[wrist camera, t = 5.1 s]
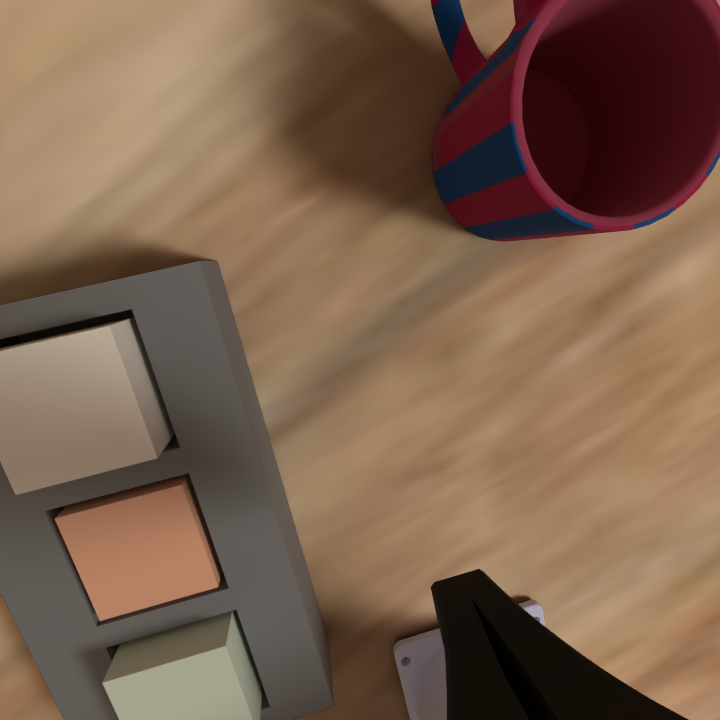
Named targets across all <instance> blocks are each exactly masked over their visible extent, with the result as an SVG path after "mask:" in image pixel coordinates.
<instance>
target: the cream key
mask: <svg viewBox="0 0 720 720" xmlns="http://www.w3.org/2000/svg"><path fill="white" fill-rule="evenodd" d="M174 434H175V432H174V429H173V426H172V423H171V420H170V418H169V415H168V412H167V409H166V406H165V403H164V400H163V397H162V395H161V392H160V389H159V386H158V383H157V380H156V377H155V374H154V372H153V369H152V366H151V363H150V360H149V357H148V354H147V351H146V349H145V346H144V343H143V340H142V337H141V334H140V331H139V329H138V326H137V323H136V320H135V317H132V318H128V319H124V320H119V321H115V322H111V323H106V324H102V325H98V326H93V327H89V328H85V329H80V330H76V331H72V332H67V333H63V334H59V335H54V336H50V337H46V338H41V339H37V340H33V341H28V342H24V343H20V344H15V345H11V346H7V347H2V348H0V462H1V464H2V467H3V469H4V471H5V473H6V475H7V477H8V480H9V482H10V484H11V486H12V488H13V490H14V493H15V495H18V494H22V493H26V492H30V491H33V490H37V489H41V488H45V487H49V486H53V485H57V484H61V483H64V482H68V481H72V480H76V479H80V478H84V477H88V476H91V475H95V474H99V473H103V472H107V471H111V470H115V469H118V468H122V467H126V466H130V465H134V464H138V463H142V462H145V461H149V460H153V459H157V458H158V457H159V456H160V454H161V453H162V451H163V450H164V448H165V447H166V446H167V444H168V443H169V441H170V440H171V438H172V437H173V436H174Z"/></svg>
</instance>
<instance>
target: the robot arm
mask: <svg viewBox="0 0 720 720" xmlns="http://www.w3.org/2000/svg"><path fill="white" fill-rule="evenodd" d="M431 591H432V596H433V600H434V605H435V609H436V614H437V619H438V623H439V628H438V629H435V630H432V631H428V632H425V633H422V634H419V635H415V636H412V637H409V638H406V639H403V640H400V641H398V642H396V643H395V644H394V647H393V653H394V657H395V661H396V665H397V669H398V673H399V677H400V681H401V685H402V689H403V693H404V697H405V701H406V705H407V709H408V713H409V717H410V720H688V719H686V718H684V717H683V716H681V715H679V714H677V713H675V712H673V711H671V710H670V709H668V708H666V707H664V706H662V705H660V704H659V703H657V702H655V701H653V700H652V699H650V698H648V697H647V696H645V695H643V694H642V693H640V692H638V691H637V690H635V689H633V688H632V687H630V686H628V685H627V684H625V683H624V682H622V681H620V680H619V679H617V678H616V677H614V676H613V675H611V674H610V673H608V672H606V671H605V670H603V669H602V668H600V667H599V666H598V665H596V664H595V663H593V662H592V661H590V660H589V659H587V658H586V657H585V656H583V655H582V654H580V653H579V652H578V651H576V650H575V649H574V648H572V647H571V646H570V645H568V644H567V643H565V642H564V641H563V640H561V639H560V638H559V637H558V636H556V635H555V634H554V633H552V632H551V631H550V630H549V629H547V628H546V627H545V622H544V615H543V609H542V607H541V605H540V604H539V603H538V602H537V601H535V600H529V601H526V602H523V603H519V604H517V603H516V602H515V601H514V600H513V599H512V598H511V597H510V596H508V595H507V594H506V593H505V592H504V591H503V590H502V589H501V588H500V587H499V586H498V585H497V584H496V583H495V582H493V581H492V580H491V579H490V578H489V577H488V576H487V575H486V574H485V573H484V572H483V571H482V570H480V569H477V570H474V571H470V572H467V573H464V574H460V575H457V576H454V577H450V578H447V579H444V580H440V581H437V582H434V583H433V585H432V586H431ZM534 617H535V618H534ZM405 657H408V658H406V659H403V658H405Z"/></svg>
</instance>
